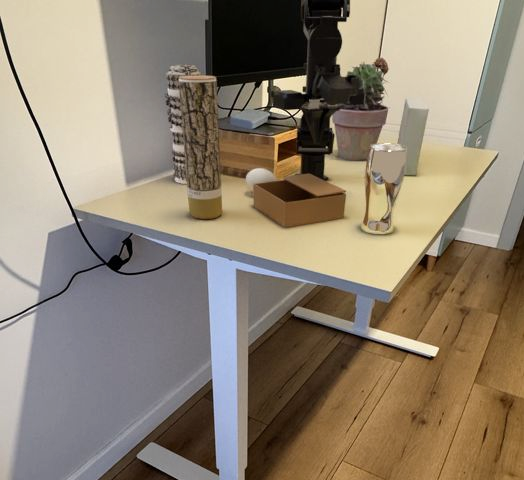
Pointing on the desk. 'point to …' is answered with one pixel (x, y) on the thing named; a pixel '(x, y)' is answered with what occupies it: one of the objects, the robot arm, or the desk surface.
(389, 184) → the beer glass
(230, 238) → the desk surface
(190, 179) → the paper tube
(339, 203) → the carton
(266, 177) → the stress ball
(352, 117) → the potted plant
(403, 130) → the skincare box
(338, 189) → the flap
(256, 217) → the desk surface
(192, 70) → the decorative candle
